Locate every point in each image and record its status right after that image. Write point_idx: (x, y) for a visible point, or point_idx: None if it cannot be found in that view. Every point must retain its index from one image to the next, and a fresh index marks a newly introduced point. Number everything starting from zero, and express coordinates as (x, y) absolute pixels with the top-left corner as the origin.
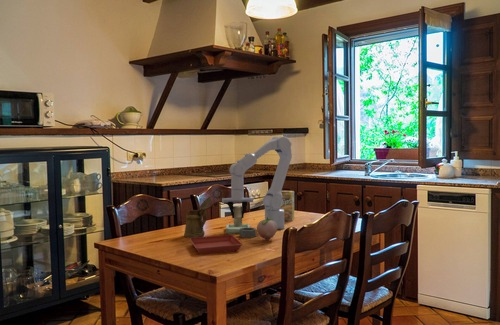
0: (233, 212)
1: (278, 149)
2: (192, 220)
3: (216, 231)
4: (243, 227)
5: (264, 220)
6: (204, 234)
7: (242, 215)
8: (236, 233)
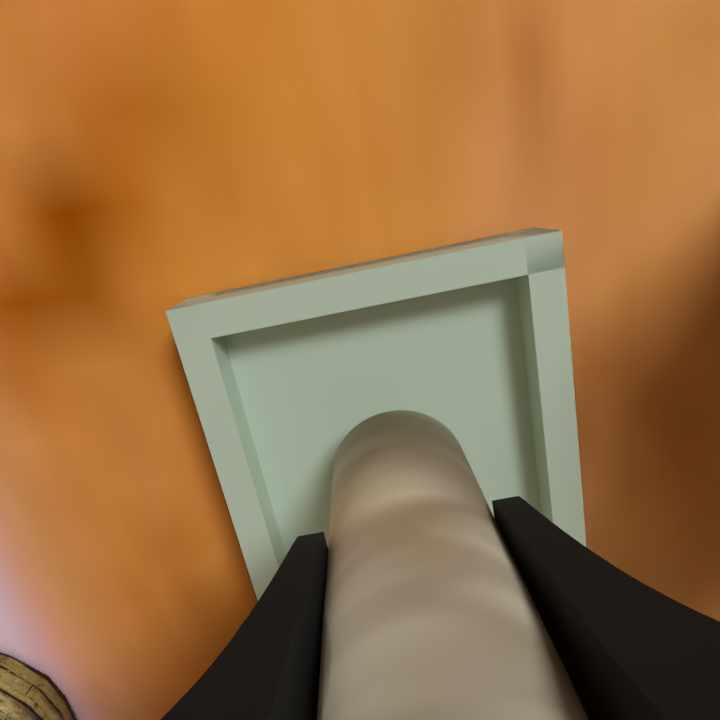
0: (314, 636)
1: None
2: None
3: (118, 504)
4: (455, 326)
5: None
6: (69, 717)
7: None
8: None
